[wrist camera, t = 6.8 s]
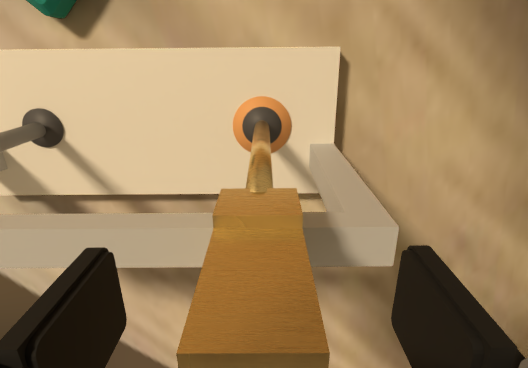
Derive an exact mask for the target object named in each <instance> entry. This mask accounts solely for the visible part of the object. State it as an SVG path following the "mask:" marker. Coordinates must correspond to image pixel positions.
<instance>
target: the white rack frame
mask: <svg viewBox="0 0 528 368" xmlns="http://www.w3.org/2000/svg"><path fill="white" fill-rule="evenodd" d="M339 62H340V47H246V48H131V49H15V50H0V195H115V194H220V191H221V189H236V188H246V182H247V175H248V168H249V161H250V154H251V147H252V140H253V133H254V127H255V124H256V123H257V122H258V121H266V122H267V123H268V125H269V131H270V147H271V163H272V178H273V188H297V192H298V193H320V195H321V198H322V201H323V203H324V206H325V208H326V211H327V212H302V213H303V228H302V229H303V233H304V238H305V242H306V247H307V252H308V256H309V261H310V265H311V267H338V266H393V263H394V257H395V250H396V244H397V238H398V231H399V226H398V225H397V224H396V222H395V221H394V220H393V219H392V217H391V216H390V215H389V213H388V212H387V211H386V210H385V208H384V207H383V206H382V204H381V203H380V202H379V201H378V199H377V198H376V197H375V196H374V194H373V193H372V192H371V190H370V189H369V188H368V187H367V185H366V184H365V183H364V181H363V180H362V179H361V178H360V176H359V175H358V174H357V173H356V171H355V170H354V169H353V167H352V166H351V165H350V164H349V162H348V161H347V160H346V158H345V157H344V156H343V155H342V153H341V152H340V151H339V150H338V148H337V147H336V146H335V144H334V133H335V119H336V105H337V90H338V76H339ZM212 215H213V213H107V214H0V268H68V267H69V266H70V264H71V263H72V262H73V261H74V260H75V259H76V258H77V257H78V256H79V255H80V254H81V253H82V252H83V250H84V249H86V248H96V247H105V248H107V249H108V251H109V252H112V253H113V254H114V258H115V263H116V268H158V267H202V266H203V262H204V259H205V255H206V252H207V249H208V245H209V242H210V239H211V235H212V232H213V218H212Z"/></svg>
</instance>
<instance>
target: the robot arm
mask: <svg viewBox="0 0 528 368" xmlns="http://www.w3.org/2000/svg"><path fill="white" fill-rule="evenodd" d="M391 319H392V325H393V328H394V331H395V333H396V335H397V337H398V339H399V341H400V343H401V345H402V348H403V350H404V352H405V354H406V356H407V358H408V360H409V362H410V365H411V367H412V368H528V358H526V359H525V357H524V356H523V355H522V354H521V353H520V352H519V350H518V349H517V346H516V345H515V344H514V343H513V342H512V341H511V340H510V338H509V337H508V336H507V335H506V334H505V333H504V331H503V330H502V329H501V328H500V327H499V326H498V325H497V323H496V322H495V321H494V320H493V319H492V318H491V316H490V315H489V314H488V313H487V312H486V311H485V309H484V308H483V307H482V306H481V305H480V304H479V303H478V301H477V300H476V299H475V298H474V297H473V296H472V294H471V293H470V292H469V291H468V290H467V289H466V288H465V286H464V285H463V284H462V283H461V282H460V281H459V279H458V278H457V277H456V276H455V275H454V274H453V272H452V271H451V270H450V269H449V268H448V267H447V266H446V264H445V263H444V262H443V261H442V260H441V259H440V257H439V256H438V255H437V254H436V253H435V252H434V251H433V249H432V248H431V247H430V246H409V247H408V249H407V250H404V251H403V252H402V256H401V262H400V268H399V274H398V280H397V286H396V292H395V298H394V304H393V310H392V317H391ZM125 326H126V313H125V308H124V303H123V298H122V293H121V288H120V283H119V278H118V273H117V268H116V263H115V258H114V254H113V253H112V252H109V251H108V249H107V248H105V247H96V248H86V249H84V250H83V252H82V253H81V254H80V255H79V256H78V257H77V258H76V259H75V260H74V261H73V262H72V263H71V264H70V266H69V267H68V268H67V269H66V270H65V271H64V272H63V273H62V274H61V275H60V276H59V277H58V278H57V280H56V281H55V282H54V283H53V284H52V285H51V286H50V287H49V288H48V289H47V290H46V291H45V292H44V294H43V295H42V296H41V297H40V298H39V299H38V300H37V301H36V302H35V303H34V304H33V305H32V307H31V308H30V309H29V310H28V311H27V312H26V313H25V314H24V315H23V316H22V317H21V318H20V319H19V321H18V322H17V323H16V324H15V325H14V326H13V327H12V328H11V329H10V330H9V331H8V332H7V333H6V335H5V336H4V337H3V338H2V339H1V340H0V368H105V366H106V364H107V363H108V361H109V359H110V356H111V355H112V353H113V351H114V349H115V347H116V345H117V343H118V341H119V339H120V337H121V335H122V333H123V331H124V329H125Z"/></svg>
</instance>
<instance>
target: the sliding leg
mask: <svg viewBox="0 0 528 368" xmlns="http://www.w3.org/2000/svg"><path fill="white" fill-rule="evenodd" d="M212 218H213V232H212V235H211V239H210V242H209V245H208V249H207V252H206V255H205V259H204V262H203V266H202V269H201V272H200V276H199V279H198V282H197V286H196V289H195V293H194V296H193V299H192V303H191V306H190V310H189V313H188V316H187V320H186V323H185V326H184V330H183V333H182V337H181V340H180V343H179V347H178V350H177V353H176V354H177V361H178V368H328V366H329V354H330V352H329V348H328V343H327V339H326V334H325V329H324V325H323V320H322V316H321V311H320V307H319V302H318V297H317V293H316V288H315V284H314V279H313V274H312V270H311V265H310V261H309V256H308V252H307V247H306V242H305V238H304V233H303V229H302V228H303V213H302V209H301V205H300V201H299V196H298V192H297V188H273V178H272V163H271V147H270V131H269V125H268V123H267V122H266V121H258V122H257V123H256V124H255V127H254V133H253V140H252V147H251V154H250V161H249V168H248V175H247V182H246V188H236V189H221V191H220V194H219V197H218V200H217V203H216V206H215V209H214V212H213V215H212Z"/></svg>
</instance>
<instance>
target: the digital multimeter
mask: <svg viewBox="0 0 528 368" xmlns="http://www.w3.org/2000/svg"><path fill="white" fill-rule="evenodd" d="M26 1H28V2H29V3H30V4H31V5H33V6H34V7H35V8H36V9H38V10H39V11H40V12H41V13H43V14H44V15H46V16H50V17H55V18H65V17H66V16H67V14H68V13H69V11H70V10H71V8H72V7H73V5H74V4H75V2H76V0H26Z"/></svg>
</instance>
